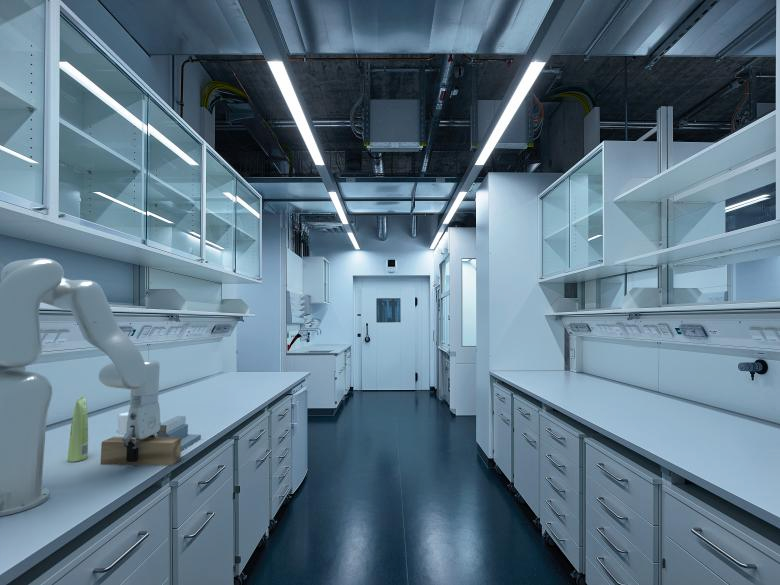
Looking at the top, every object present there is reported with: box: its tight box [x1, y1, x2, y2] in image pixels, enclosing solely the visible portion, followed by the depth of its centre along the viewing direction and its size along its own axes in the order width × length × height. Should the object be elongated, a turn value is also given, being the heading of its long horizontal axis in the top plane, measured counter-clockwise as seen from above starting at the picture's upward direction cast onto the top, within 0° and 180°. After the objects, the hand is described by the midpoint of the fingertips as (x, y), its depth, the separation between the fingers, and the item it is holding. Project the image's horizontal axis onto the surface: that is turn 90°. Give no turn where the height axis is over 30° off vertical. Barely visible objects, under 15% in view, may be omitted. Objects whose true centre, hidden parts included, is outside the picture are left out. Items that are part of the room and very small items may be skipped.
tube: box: [67, 395, 89, 463], centre depth 122 cm, size 6×5×20 cm
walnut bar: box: [100, 436, 182, 466], centre depth 120 cm, size 5×22×7 cm, turn 89°
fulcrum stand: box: [157, 415, 202, 451], centre depth 136 cm, size 14×14×8 cm
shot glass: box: [116, 411, 129, 435], centre depth 151 cm, size 7×7×7 cm
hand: (141, 456), depth 120 cm, fingers open, 8 cm apart
